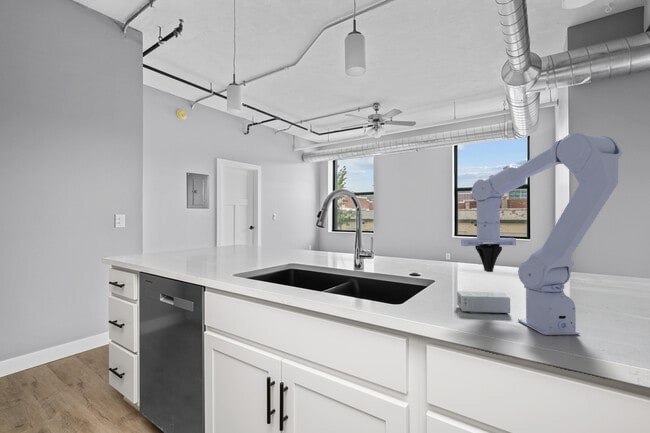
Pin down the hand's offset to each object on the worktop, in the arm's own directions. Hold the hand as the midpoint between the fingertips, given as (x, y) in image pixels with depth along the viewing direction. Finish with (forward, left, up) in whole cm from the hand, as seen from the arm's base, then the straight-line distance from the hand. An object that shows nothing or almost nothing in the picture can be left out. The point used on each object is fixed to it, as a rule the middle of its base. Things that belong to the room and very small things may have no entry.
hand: (488, 271), depth 87 cm
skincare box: (-1, +9, -8) cm, 12 cm away
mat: (0, +2, -10) cm, 11 cm away
